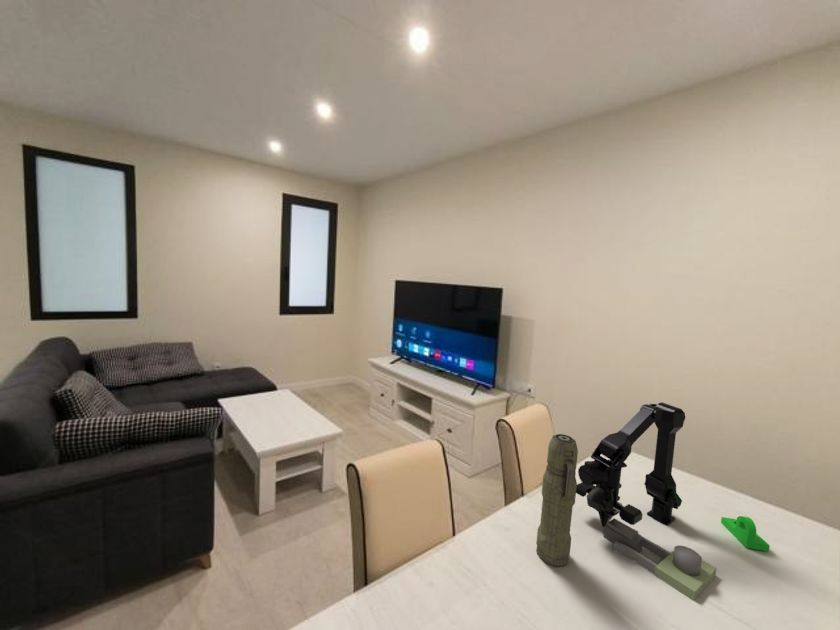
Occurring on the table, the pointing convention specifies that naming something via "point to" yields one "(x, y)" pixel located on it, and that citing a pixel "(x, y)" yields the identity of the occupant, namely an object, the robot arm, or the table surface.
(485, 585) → the table surface
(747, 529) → the mechanical part
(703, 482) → the table surface
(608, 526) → the two tier gray step
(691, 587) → the green block with prongs
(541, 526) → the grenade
